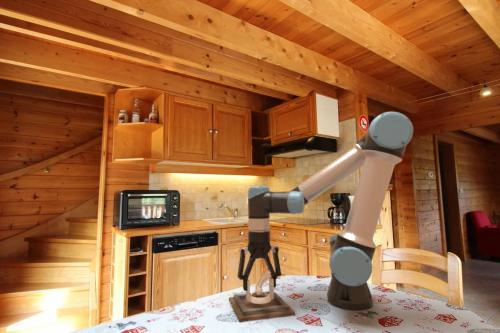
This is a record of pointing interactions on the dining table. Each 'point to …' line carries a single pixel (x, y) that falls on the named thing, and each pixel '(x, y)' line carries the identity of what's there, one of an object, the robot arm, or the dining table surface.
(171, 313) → the dining table surface
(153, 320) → the dining table surface
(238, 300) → the picture frame
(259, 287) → the hook
